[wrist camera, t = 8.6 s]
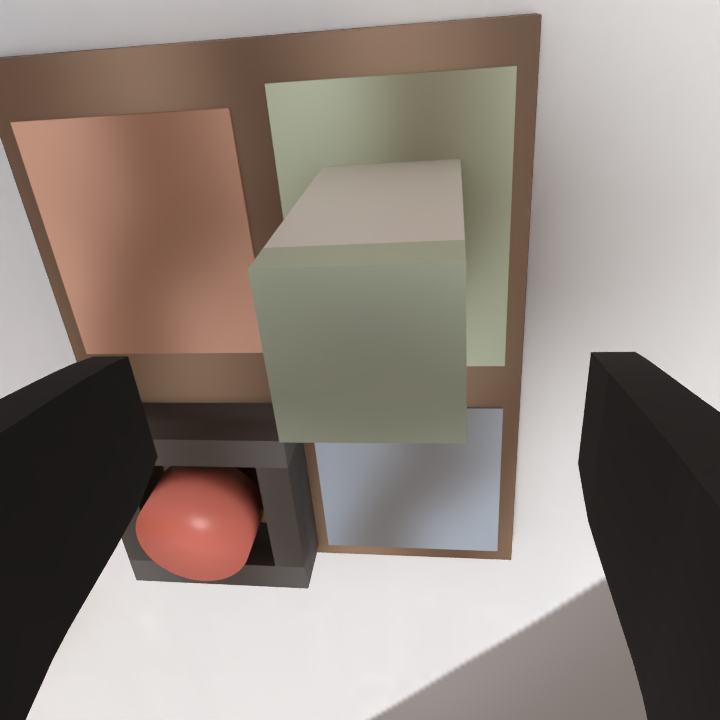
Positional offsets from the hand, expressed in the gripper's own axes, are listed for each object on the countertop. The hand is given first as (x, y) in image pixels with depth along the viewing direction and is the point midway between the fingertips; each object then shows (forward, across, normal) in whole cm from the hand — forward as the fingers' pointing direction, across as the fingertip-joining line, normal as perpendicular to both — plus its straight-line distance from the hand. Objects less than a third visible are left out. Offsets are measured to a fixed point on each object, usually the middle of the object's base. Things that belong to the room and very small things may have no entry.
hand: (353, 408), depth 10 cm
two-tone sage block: (+8, 0, 0) cm, 8 cm away
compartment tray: (+9, +3, +4) cm, 11 cm away
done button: (+7, +6, +8) cm, 13 cm away
